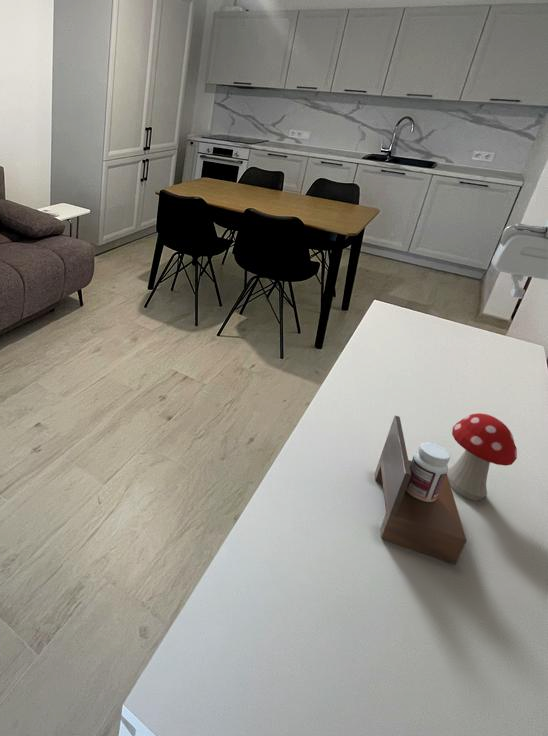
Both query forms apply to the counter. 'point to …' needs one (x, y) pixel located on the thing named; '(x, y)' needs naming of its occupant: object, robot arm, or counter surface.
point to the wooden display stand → (416, 506)
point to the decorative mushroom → (479, 453)
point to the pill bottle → (428, 471)
